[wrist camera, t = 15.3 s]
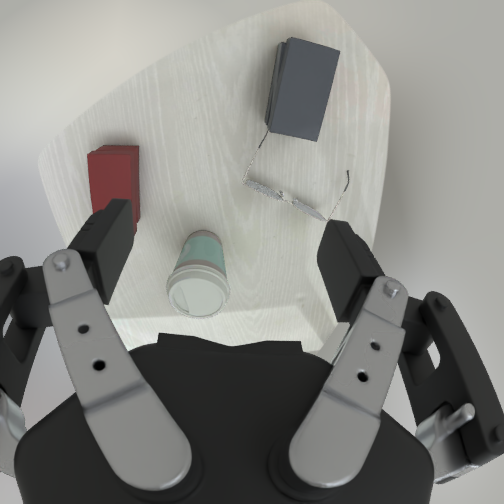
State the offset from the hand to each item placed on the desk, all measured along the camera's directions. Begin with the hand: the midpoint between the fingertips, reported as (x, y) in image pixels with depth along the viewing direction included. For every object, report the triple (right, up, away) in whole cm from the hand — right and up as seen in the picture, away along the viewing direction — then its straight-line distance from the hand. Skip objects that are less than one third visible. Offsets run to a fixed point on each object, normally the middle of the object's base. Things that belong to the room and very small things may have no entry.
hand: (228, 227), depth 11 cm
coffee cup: (-7, 0, +35) cm, 35 cm away
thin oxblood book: (-18, +7, +24) cm, 31 cm away
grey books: (+6, +20, +21) cm, 29 cm away
